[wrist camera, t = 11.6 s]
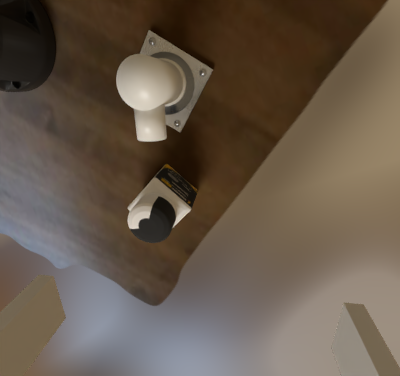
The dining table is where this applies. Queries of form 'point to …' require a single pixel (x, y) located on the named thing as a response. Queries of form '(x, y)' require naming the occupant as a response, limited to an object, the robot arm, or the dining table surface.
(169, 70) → the elbow
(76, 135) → the dining table surface
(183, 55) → the flange plate
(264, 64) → the dining table surface
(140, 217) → the medicine bottle
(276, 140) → the dining table surface
